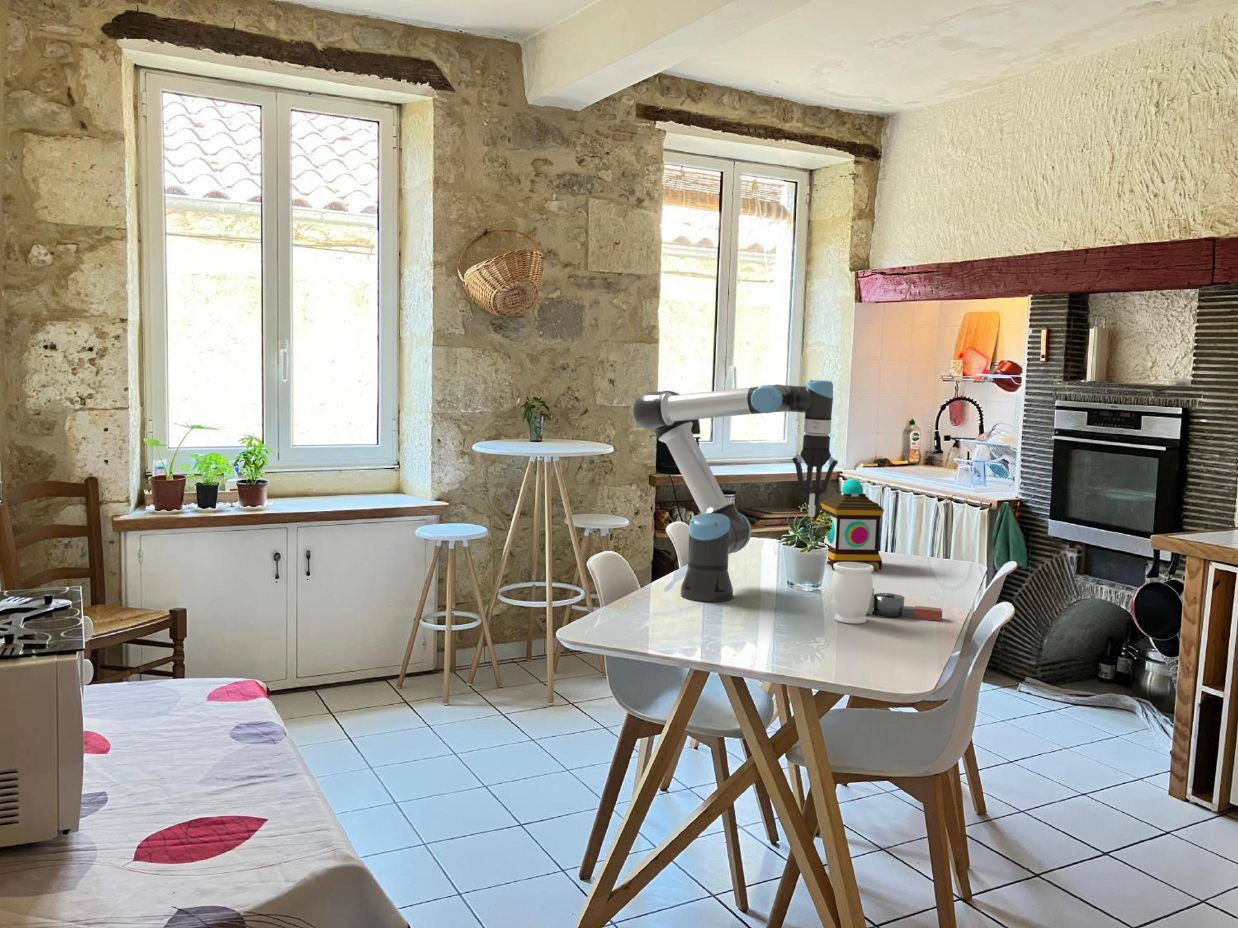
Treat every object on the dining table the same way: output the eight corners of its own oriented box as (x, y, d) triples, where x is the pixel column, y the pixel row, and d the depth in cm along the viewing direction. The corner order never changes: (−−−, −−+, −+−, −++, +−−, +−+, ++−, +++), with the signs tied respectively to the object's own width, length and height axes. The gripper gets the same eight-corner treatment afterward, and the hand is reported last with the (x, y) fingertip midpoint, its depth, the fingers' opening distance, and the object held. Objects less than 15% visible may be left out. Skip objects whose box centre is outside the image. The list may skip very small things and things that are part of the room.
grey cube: (848, 612, 272) (849, 590, 271) (850, 607, 277) (851, 586, 277) (872, 614, 270) (873, 593, 269) (873, 609, 275) (874, 588, 275)
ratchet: (857, 614, 270) (858, 594, 269) (859, 608, 277) (860, 588, 277) (941, 623, 263) (943, 602, 263) (941, 616, 271) (942, 596, 270)
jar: (847, 627, 256) (850, 570, 255) (822, 617, 265) (825, 562, 264) (879, 623, 261) (882, 567, 260) (852, 613, 270) (855, 560, 269)
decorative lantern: (811, 559, 347) (815, 474, 344) (865, 560, 350) (870, 476, 347) (829, 571, 328) (834, 481, 325) (887, 571, 330) (892, 482, 327)
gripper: (791, 433, 279) (786, 515, 282) (838, 436, 275) (832, 520, 278) (796, 432, 286) (791, 512, 289) (841, 435, 282) (836, 516, 285)
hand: (811, 516), depth 283 cm, fingers closed
